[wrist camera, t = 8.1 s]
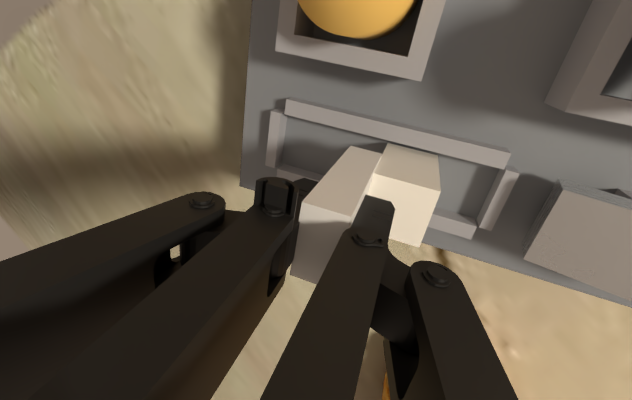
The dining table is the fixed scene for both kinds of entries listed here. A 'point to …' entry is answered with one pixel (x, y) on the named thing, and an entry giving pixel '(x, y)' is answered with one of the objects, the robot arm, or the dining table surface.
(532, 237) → the plate
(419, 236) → the slider knob
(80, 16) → the dining table surface
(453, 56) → the panel
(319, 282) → the robot arm
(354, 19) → the amber button
